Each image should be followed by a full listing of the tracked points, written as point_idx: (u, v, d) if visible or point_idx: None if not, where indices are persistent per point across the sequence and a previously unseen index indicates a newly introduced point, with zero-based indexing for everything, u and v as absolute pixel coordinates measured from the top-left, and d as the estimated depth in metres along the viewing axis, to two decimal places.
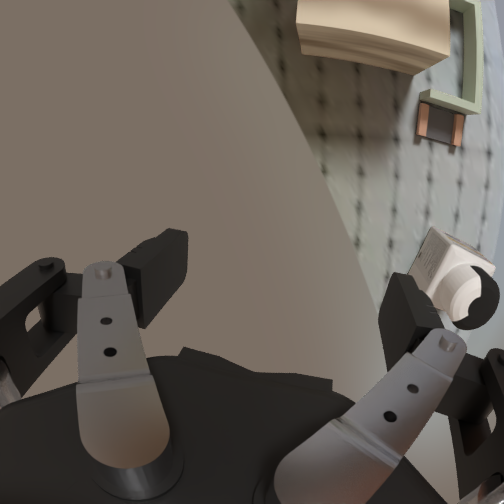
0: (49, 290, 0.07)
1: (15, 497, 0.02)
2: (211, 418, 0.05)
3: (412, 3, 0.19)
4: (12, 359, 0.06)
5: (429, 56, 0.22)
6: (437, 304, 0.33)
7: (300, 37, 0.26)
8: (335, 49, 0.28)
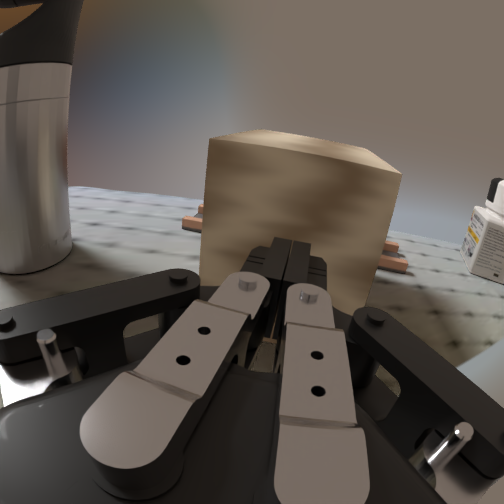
0: None
1: (15, 497, 0.02)
2: (211, 418, 0.05)
3: (319, 141, 0.24)
4: (95, 356, 0.07)
5: None
6: None
7: None
8: None
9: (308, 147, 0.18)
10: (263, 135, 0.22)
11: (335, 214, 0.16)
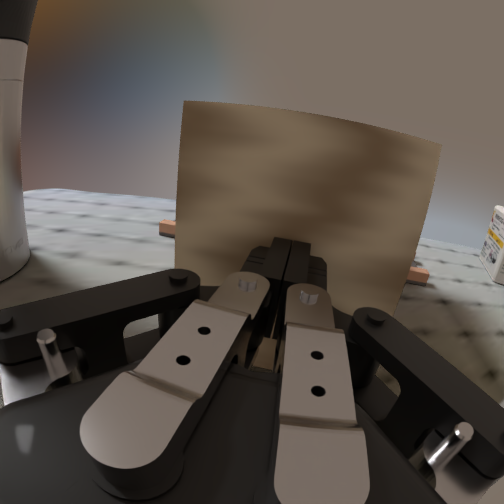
0: None
1: (15, 497, 0.02)
2: (211, 418, 0.05)
3: None
4: (95, 356, 0.07)
5: None
6: None
7: (413, 253, 0.12)
8: None
9: None
10: None
11: (355, 198, 0.11)
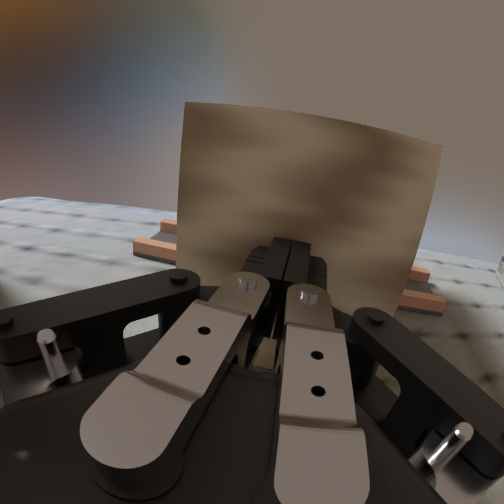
0: None
1: (15, 497, 0.02)
2: (211, 418, 0.05)
3: None
4: (95, 356, 0.07)
5: None
6: None
7: None
8: None
9: None
10: None
11: (356, 199, 0.12)
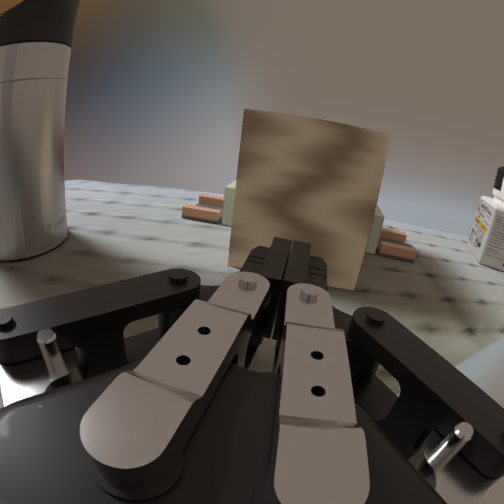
0: None
1: (15, 496, 0.02)
2: (211, 418, 0.05)
3: None
4: (95, 356, 0.07)
5: None
6: None
7: (377, 197, 0.21)
8: None
9: None
10: None
11: (341, 165, 0.21)
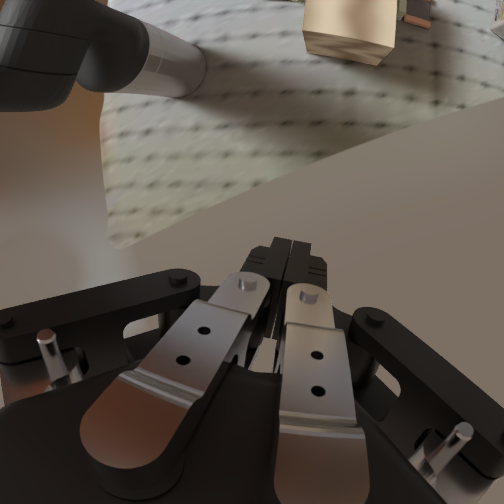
0: None
1: (15, 497, 0.02)
2: (211, 418, 0.05)
3: None
4: (95, 356, 0.07)
5: None
6: None
7: (386, 54, 0.30)
8: None
9: (351, 14, 0.26)
10: None
11: (364, 47, 0.29)
